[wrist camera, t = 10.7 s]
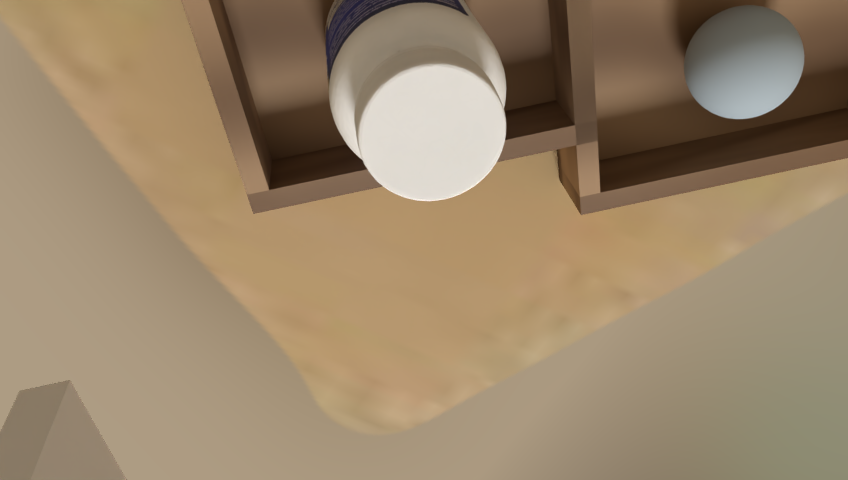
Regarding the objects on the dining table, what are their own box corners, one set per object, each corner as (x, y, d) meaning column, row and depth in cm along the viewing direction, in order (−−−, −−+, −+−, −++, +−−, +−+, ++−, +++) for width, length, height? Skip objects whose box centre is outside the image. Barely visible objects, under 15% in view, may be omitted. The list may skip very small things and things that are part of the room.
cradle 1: (179, -67, 25) (164, -49, 23) (556, -144, 25) (583, -135, 23) (258, 176, 30) (253, 213, 28) (573, 110, 30) (597, 140, 28)
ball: (666, 4, 28) (715, 36, 25) (772, -18, 28) (835, 11, 25) (666, 105, 30) (711, 147, 27) (764, 84, 30) (821, 123, 27)
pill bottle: (293, 40, 27) (287, 141, 19) (395, -75, 25) (431, -13, 18) (401, 132, 29) (432, 255, 22) (500, 32, 28) (570, 127, 20)
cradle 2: (540, -47, 27) (564, -28, 24) (889, -119, 27) (949, -108, 25) (559, 180, 32) (581, 215, 29) (855, 116, 32) (901, 146, 30)
